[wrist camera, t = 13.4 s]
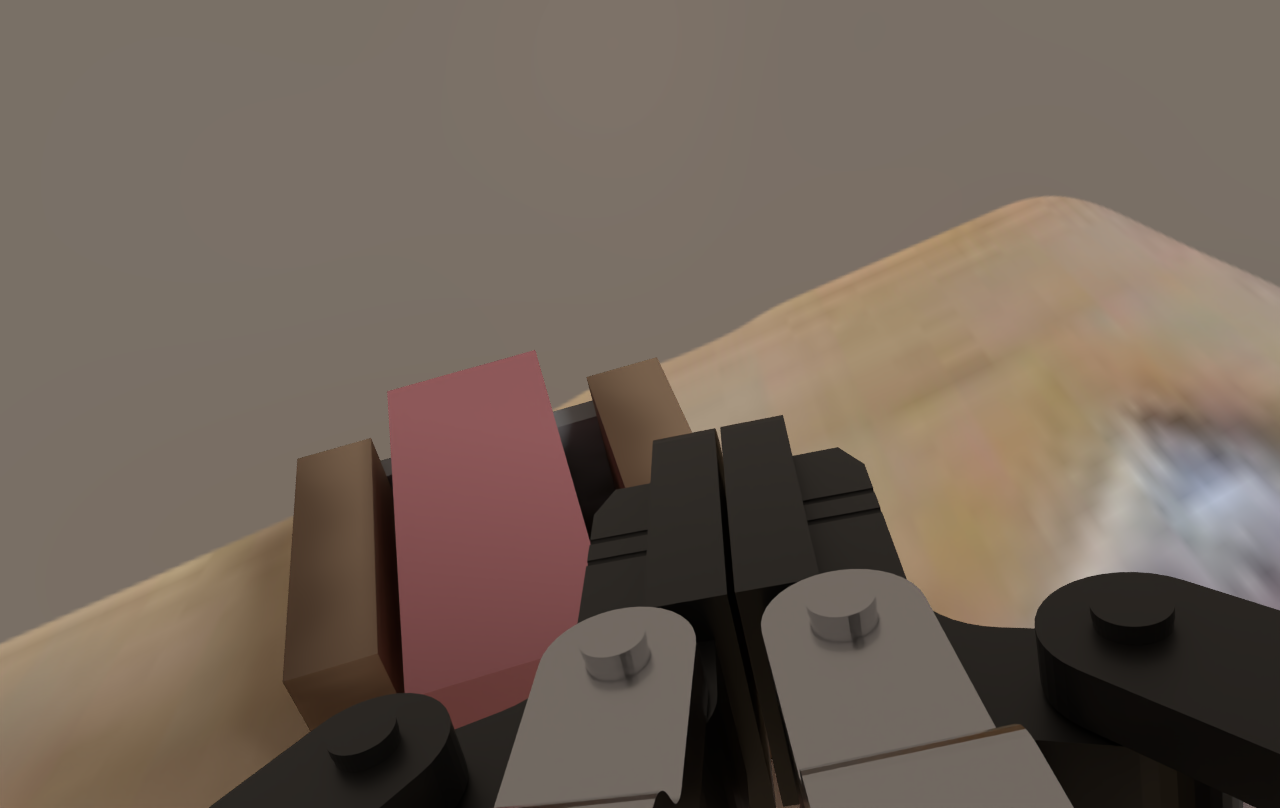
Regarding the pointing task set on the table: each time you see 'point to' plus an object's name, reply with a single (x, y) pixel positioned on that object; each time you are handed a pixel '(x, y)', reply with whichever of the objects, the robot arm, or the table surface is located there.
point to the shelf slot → (366, 540)
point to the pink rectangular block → (482, 534)
